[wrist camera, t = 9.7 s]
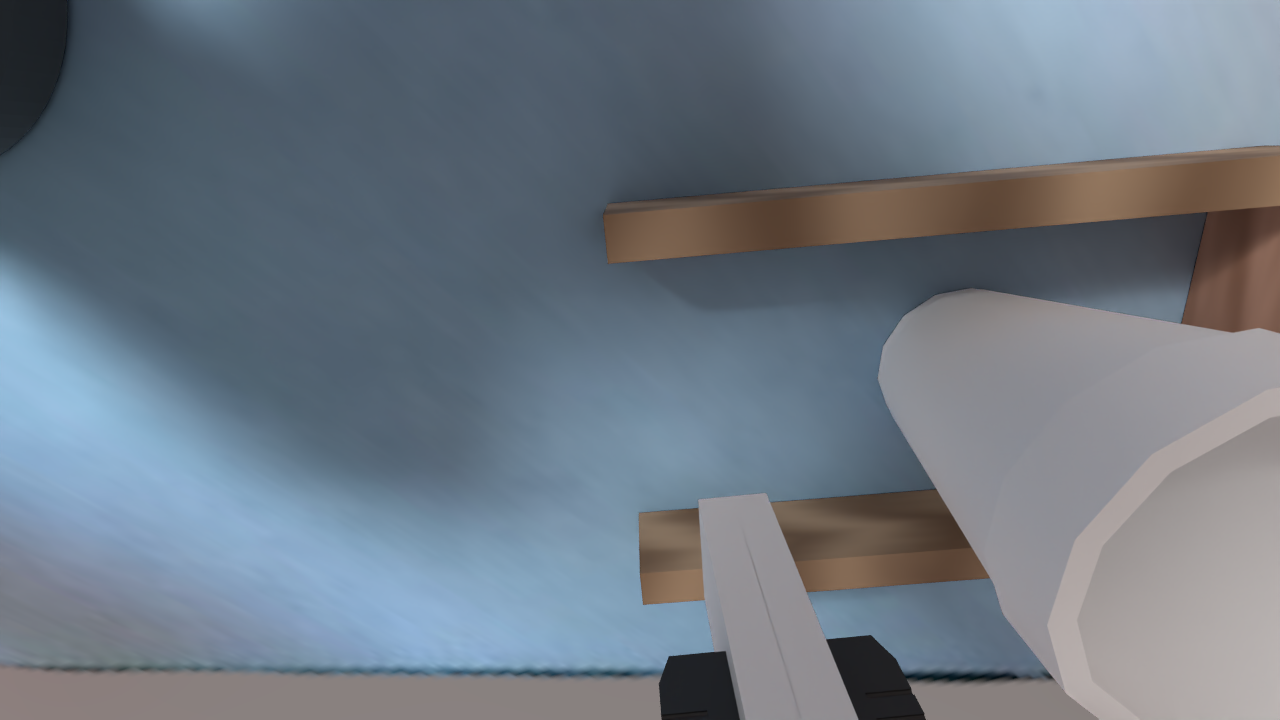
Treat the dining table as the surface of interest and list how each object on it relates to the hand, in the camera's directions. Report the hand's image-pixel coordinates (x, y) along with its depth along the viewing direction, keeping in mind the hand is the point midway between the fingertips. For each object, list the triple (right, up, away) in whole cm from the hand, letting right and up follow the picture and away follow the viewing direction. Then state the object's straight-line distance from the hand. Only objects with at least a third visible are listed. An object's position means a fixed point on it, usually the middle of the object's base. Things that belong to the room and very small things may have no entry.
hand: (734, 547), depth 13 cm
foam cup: (+11, +4, +11) cm, 16 cm away
